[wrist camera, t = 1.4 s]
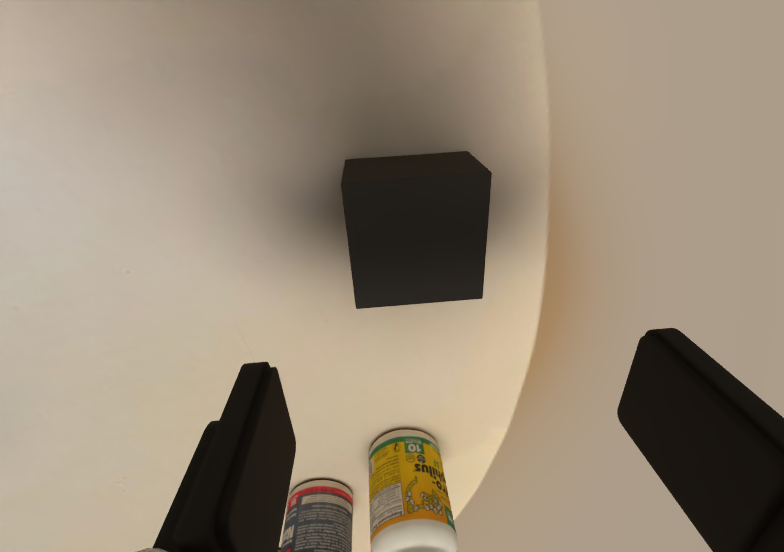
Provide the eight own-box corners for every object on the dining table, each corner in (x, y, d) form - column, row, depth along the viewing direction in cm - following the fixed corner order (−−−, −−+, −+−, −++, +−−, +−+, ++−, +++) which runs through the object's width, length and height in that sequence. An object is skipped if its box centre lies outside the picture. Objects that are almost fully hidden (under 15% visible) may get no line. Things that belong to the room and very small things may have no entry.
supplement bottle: (354, 449, 29) (350, 607, 21) (410, 415, 28) (430, 569, 19) (398, 480, 31) (411, 634, 23) (452, 450, 30) (487, 602, 22)
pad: (344, 159, 19) (340, 182, 15) (468, 151, 19) (492, 172, 15) (357, 268, 22) (356, 309, 18) (463, 260, 22) (482, 299, 18)
